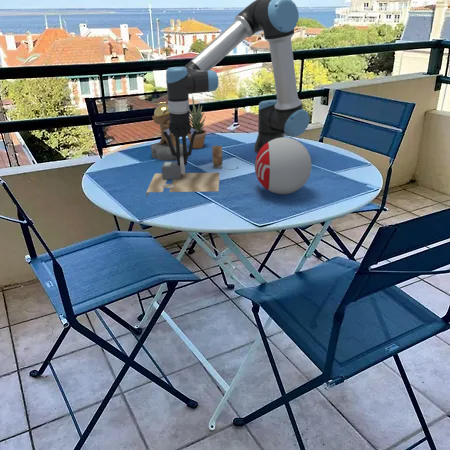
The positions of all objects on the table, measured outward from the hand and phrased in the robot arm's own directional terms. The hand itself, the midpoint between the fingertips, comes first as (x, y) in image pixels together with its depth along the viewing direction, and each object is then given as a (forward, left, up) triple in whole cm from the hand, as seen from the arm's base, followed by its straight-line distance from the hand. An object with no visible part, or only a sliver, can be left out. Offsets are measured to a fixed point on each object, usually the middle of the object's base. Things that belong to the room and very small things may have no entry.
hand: (183, 172), depth 175 cm
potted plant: (-2, -46, -3) cm, 46 cm away
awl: (-13, -11, -3) cm, 18 cm away
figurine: (+9, -30, -3) cm, 32 cm away
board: (-1, +6, -3) cm, 7 cm away
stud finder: (+4, 0, -2) cm, 4 cm away
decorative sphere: (-37, +14, -3) cm, 40 cm away
